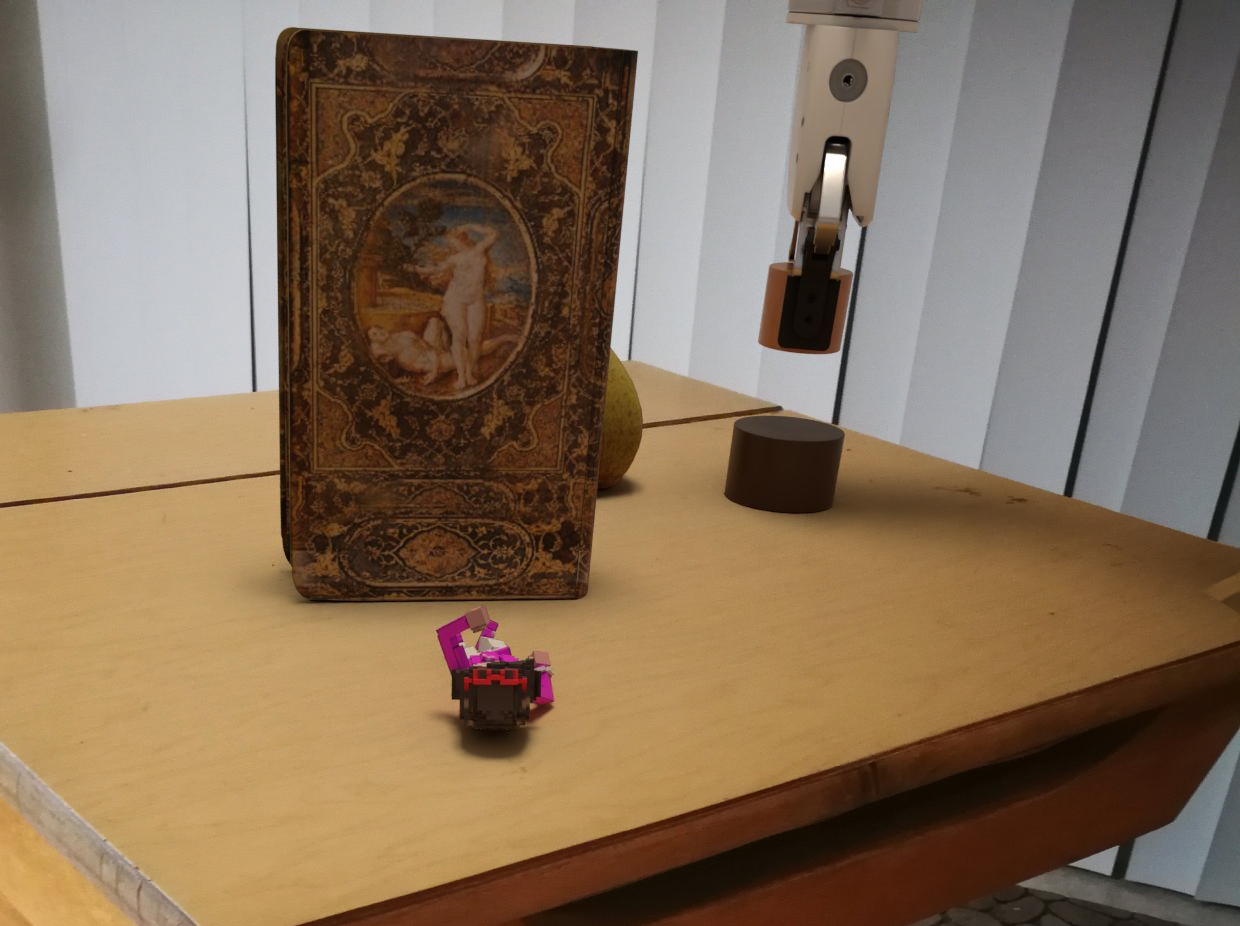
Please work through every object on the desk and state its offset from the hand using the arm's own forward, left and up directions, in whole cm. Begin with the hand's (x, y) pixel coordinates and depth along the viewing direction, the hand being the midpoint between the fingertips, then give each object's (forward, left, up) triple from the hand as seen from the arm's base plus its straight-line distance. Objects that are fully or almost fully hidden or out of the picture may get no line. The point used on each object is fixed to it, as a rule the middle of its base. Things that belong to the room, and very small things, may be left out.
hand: (801, 336), depth 96 cm
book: (+19, +25, -10) cm, 33 cm away
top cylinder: (0, 0, -1) cm, 1 cm away
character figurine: (+14, +41, -10) cm, 45 cm away
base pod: (0, 0, -10) cm, 10 cm away
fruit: (+14, +1, -10) cm, 17 cm away
